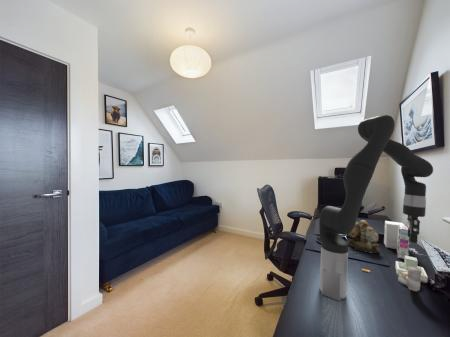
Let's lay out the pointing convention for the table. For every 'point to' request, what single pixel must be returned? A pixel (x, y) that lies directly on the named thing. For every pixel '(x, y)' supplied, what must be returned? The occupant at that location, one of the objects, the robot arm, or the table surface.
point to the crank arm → (412, 278)
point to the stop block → (410, 262)
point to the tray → (400, 269)
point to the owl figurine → (364, 237)
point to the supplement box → (391, 234)
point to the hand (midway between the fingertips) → (412, 239)
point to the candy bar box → (403, 242)
